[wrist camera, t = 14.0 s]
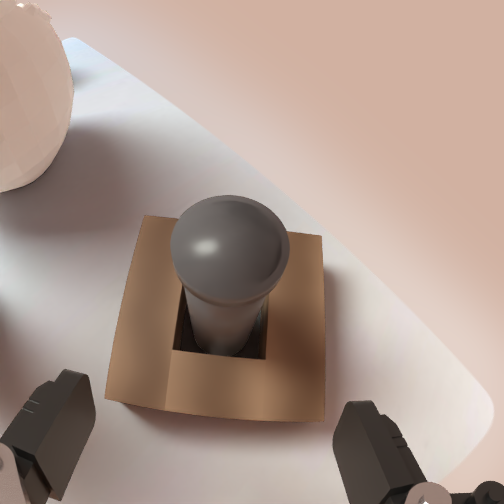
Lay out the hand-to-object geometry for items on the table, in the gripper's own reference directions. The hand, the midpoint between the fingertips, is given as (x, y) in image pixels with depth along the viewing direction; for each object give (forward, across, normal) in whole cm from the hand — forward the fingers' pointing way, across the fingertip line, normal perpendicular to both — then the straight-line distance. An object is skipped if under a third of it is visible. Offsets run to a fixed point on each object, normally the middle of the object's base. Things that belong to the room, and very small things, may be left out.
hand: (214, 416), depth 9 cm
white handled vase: (+27, +27, -6) cm, 38 cm away
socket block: (+15, 0, +5) cm, 16 cm away
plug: (+15, 0, +5) cm, 16 cm away
